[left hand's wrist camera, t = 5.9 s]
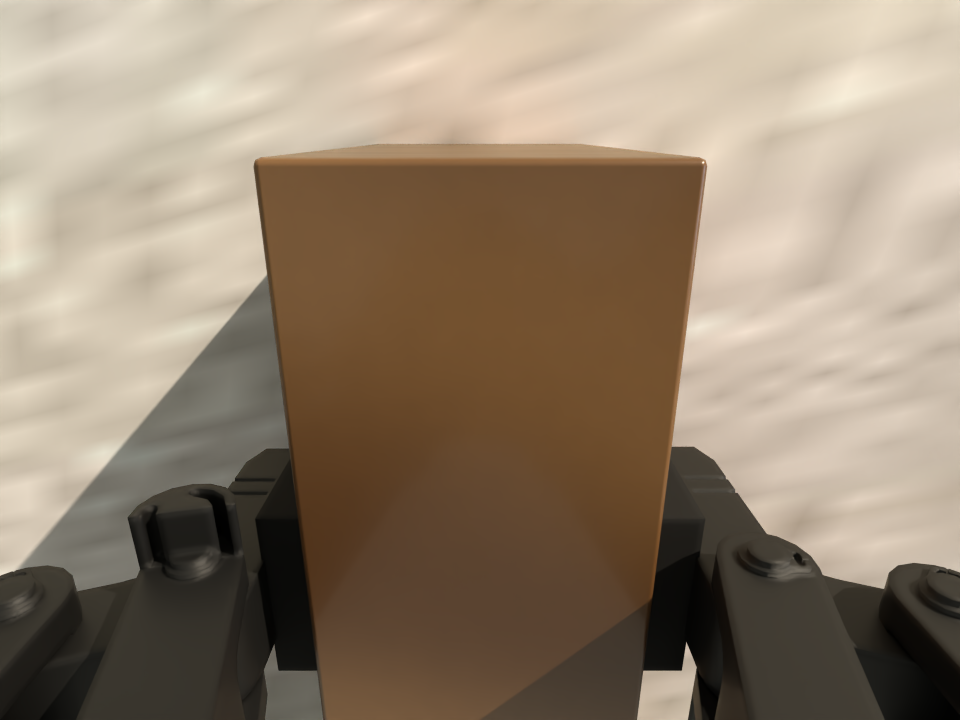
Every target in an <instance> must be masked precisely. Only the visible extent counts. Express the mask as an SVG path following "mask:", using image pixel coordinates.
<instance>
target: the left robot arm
mask: <svg viewBox="0 0 960 720" xmlns="http://www.w3.org/2000/svg"><path fill="white" fill-rule="evenodd" d="M128 521H129V525H130V529H131V533H132V537H133V542H134V546H135V550H136V554H137V558H138V562H139V566H140V571H139V574H138V576H137V578H135V579H132V580H128V581H124V582H120V583H116V584H111V585H106V586H102V587H97V588H92V589H87V590H83V591H78V592H77V590H76V586H75V583H74V580H73V576H72V575H71V574H70V573H69V572H67V571H66V570H65V569H64V568H59V567H53V566H39V567H30V568H24V569H20V570H16V571H15V572H13V571H12V572H10V573H7V574H4V575H1V576H0V720H265V713H266V704H267V688H266V681H265V675H264V668H265V665H266V663H267V660H268V658H269V655H270V653H271V651H272V648H273V646H274V644H275V650H276V657H277V663H278V670H279V671H317V664H316V656H315V648H314V640H313V633H312V625H311V617H310V609H309V601H308V593H307V585H306V577H305V569H304V561H303V553H302V545H301V538H300V530H299V522H298V514H297V506H296V498H295V490H294V482H293V474H292V466H291V458H290V450H289V449H266V450H264V451H263V452H261V453H260V454H258V455H257V456H255V457H254V458H252V459H251V460H249V461H248V462H246V464H245V465H244V467H243V468H242V469H241V471H240V472H239V474H238V475H237V476H236V478H235V482H232V484H231V485H230V486H229V488H228V489H227V488H226V487H222V486H217V485H213V484H192V485H187V486H182V487H177V488H173V489H170V490H167V491H165V492H162V493H160V494H157V495H155V496H153V497H151V498H150V499H148V500H146V501H145V502H143V503H142V504H140V505H139V506H137V507H136V509H135V510H134V511H133V512H132V513H131V514H130V516H129V517H128ZM686 642H687V644H688V647H689V649H690V652H691V654H692V656H693V659H694V661H695V664H696V666H697V669H696V675H695V681H694V687H693V693H692V699H691V705H690V711H689V717H688V720H960V573H959V572H957V571H954V570H951V569H946V568H944V567H939V566H936V565H927V564H919V563H911V564H905V565H898V566H897V567H896V568H894V569H893V570H892V571H891V572H889V575H888V578H887V581H886V585H885V588H884V589H881V588H876V587H871V586H866V585H862V584H857V583H852V582H847V581H843V580H838V579H835V578H831V577H827V576H824V575H822V573H821V570H820V568H819V567H818V565H817V564H816V563H815V561H814V560H813V559H812V557H811V556H810V555H809V554H807V553H806V552H805V551H803V550H802V549H800V548H799V547H798V546H796V545H795V544H792V543H790V542H788V541H786V540H784V539H781V538H779V537H777V536H772V535H768V534H766V532H765V531H764V530H763V528H762V527H761V525H760V524H759V523H758V521H757V520H756V518H755V517H754V516H753V514H752V513H751V511H750V510H749V509H748V507H747V506H746V504H745V503H744V502H743V500H742V499H741V497H740V496H739V494H738V493H735V489H734V487H733V486H732V485H731V483H730V482H729V480H726V476H725V475H724V473H723V472H722V471H721V469H720V468H719V466H718V465H717V464H716V462H715V461H714V460H713V459H711V458H710V457H708V456H707V455H705V454H704V453H702V452H701V451H699V450H698V449H696V448H695V447H671V455H670V463H669V470H668V478H667V486H666V494H665V502H664V510H663V518H662V526H661V534H660V542H659V549H658V557H657V565H656V573H655V581H654V589H653V597H652V605H651V613H650V620H649V628H648V636H647V644H646V652H645V660H644V668H643V671H682V666H683V659H684V653H685V647H686Z"/></svg>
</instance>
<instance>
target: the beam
mask: <svg viewBox="0 0 960 720" xmlns="http://www.w3.org/2000/svg"><path fill="white" fill-rule="evenodd" d="M706 171H707V164H706V161H705V160H704V159H702V158H699V157H691V156H682V155H673V154H664V153H655V152H646V151H637V150H629V149H620V148H611V147H602V146H593V145H584V144H376V145H367V146H358V147H350V148H341V149H332V150H323V151H314V152H305V153H297V154H288V155H279V156H270V157H261V158H259V159H257V160H255V163H254V173H255V181H256V189H257V197H258V205H259V213H260V221H261V229H262V237H263V245H264V253H265V261H266V268H267V276H268V284H269V292H270V300H271V308H272V316H273V324H274V332H275V340H276V348H277V355H278V363H279V371H280V379H281V387H282V395H283V403H284V411H285V419H286V427H287V435H288V443H289V450H290V458H291V466H292V474H293V482H294V490H295V498H296V506H297V514H298V522H299V530H300V538H301V545H302V553H303V561H304V569H305V577H306V585H307V593H308V601H309V609H310V617H311V625H312V633H313V640H314V648H315V656H316V664H317V672H318V680H319V688H320V696H321V704H322V712H323V720H637V715H638V707H639V699H640V691H641V684H642V676H643V668H644V660H645V652H646V644H647V636H648V628H649V620H650V613H651V605H652V597H653V589H654V581H655V573H656V565H657V557H658V549H659V542H660V534H661V526H662V518H663V510H664V502H665V494H666V486H667V478H668V470H669V463H670V455H671V447H672V439H673V431H674V423H675V415H676V407H677V399H678V392H679V384H680V376H681V368H682V360H683V352H684V344H685V336H686V328H687V321H688V313H689V305H690V297H691V289H692V281H693V273H694V265H695V257H696V250H697V242H698V234H699V226H700V218H701V210H702V202H703V194H704V186H705V179H706Z"/></svg>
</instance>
